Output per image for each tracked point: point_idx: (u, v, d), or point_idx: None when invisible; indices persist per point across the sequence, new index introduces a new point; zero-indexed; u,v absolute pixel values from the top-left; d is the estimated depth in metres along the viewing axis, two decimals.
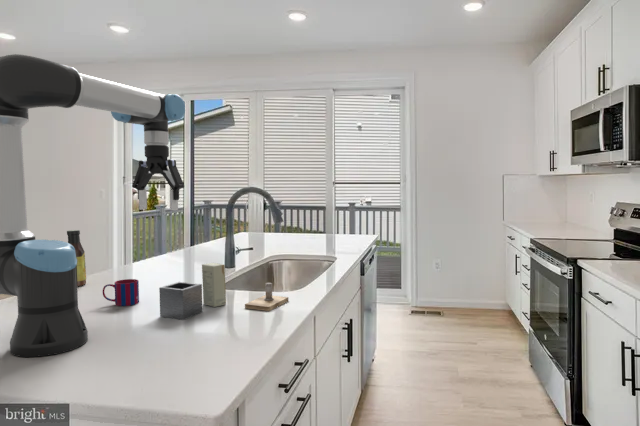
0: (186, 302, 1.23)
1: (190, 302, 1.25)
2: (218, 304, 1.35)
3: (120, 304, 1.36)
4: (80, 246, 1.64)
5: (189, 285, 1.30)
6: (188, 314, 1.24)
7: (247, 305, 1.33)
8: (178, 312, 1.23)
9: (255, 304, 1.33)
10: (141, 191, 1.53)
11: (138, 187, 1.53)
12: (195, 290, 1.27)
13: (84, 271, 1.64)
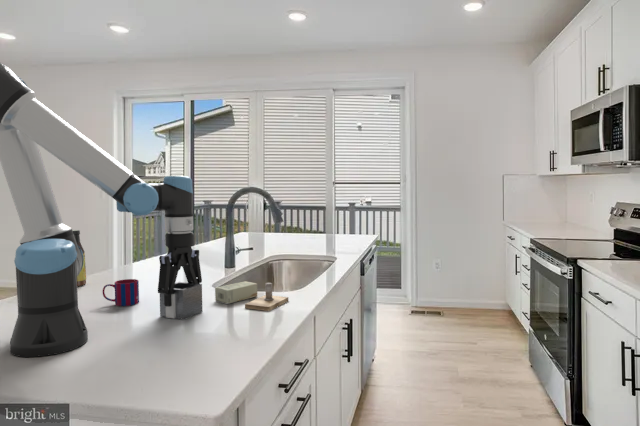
0: (186, 302, 1.23)
1: (190, 302, 1.25)
2: (228, 294, 1.38)
3: (120, 304, 1.36)
4: (80, 246, 1.64)
5: (189, 285, 1.30)
6: (188, 314, 1.24)
7: (247, 305, 1.33)
8: (178, 312, 1.23)
9: (255, 304, 1.33)
10: None
11: None
12: (195, 290, 1.27)
13: (84, 271, 1.64)
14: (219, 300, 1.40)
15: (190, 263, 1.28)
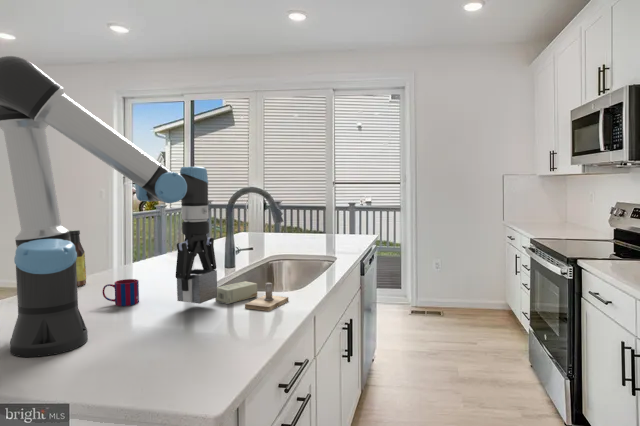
0: (202, 287, 1.29)
1: (206, 287, 1.31)
2: (228, 294, 1.38)
3: (120, 304, 1.36)
4: (80, 246, 1.64)
5: (204, 271, 1.36)
6: (204, 298, 1.30)
7: (247, 305, 1.33)
8: (195, 296, 1.29)
9: (255, 304, 1.33)
10: None
11: None
12: (210, 276, 1.33)
13: (84, 271, 1.64)
14: (219, 300, 1.40)
15: (205, 250, 1.34)
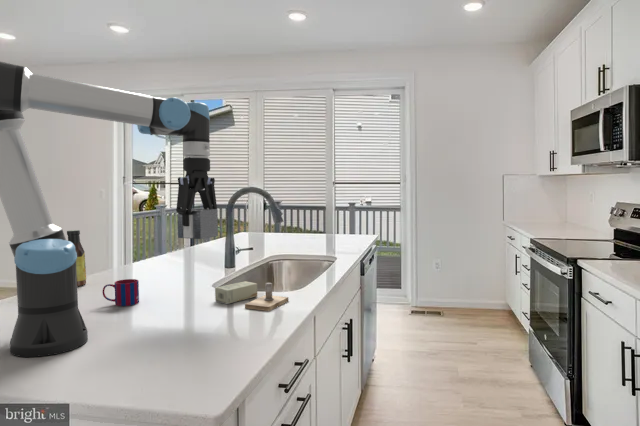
0: (203, 223, 1.29)
1: (207, 224, 1.31)
2: (228, 294, 1.38)
3: (120, 304, 1.36)
4: (80, 246, 1.64)
5: None
6: (205, 235, 1.30)
7: (247, 305, 1.33)
8: (195, 232, 1.29)
9: (255, 304, 1.33)
10: None
11: None
12: (211, 213, 1.33)
13: (84, 271, 1.64)
14: (219, 300, 1.40)
15: (206, 188, 1.34)
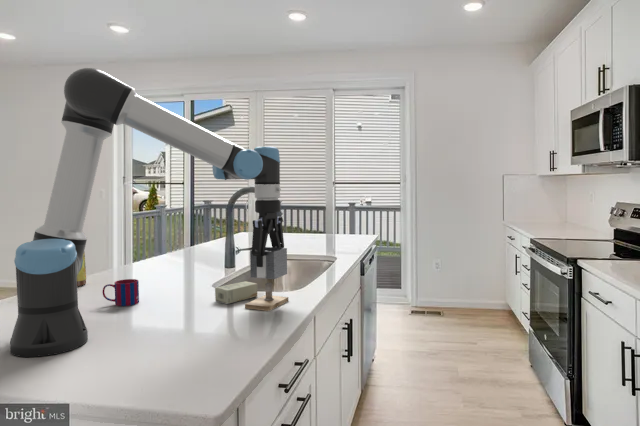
0: (276, 263, 1.33)
1: (279, 263, 1.35)
2: (228, 294, 1.38)
3: (120, 304, 1.36)
4: None
5: (275, 249, 1.40)
6: (277, 274, 1.34)
7: (247, 305, 1.33)
8: (269, 272, 1.33)
9: (255, 304, 1.33)
10: None
11: None
12: (282, 253, 1.37)
13: (84, 271, 1.64)
14: (219, 300, 1.40)
15: (276, 228, 1.38)
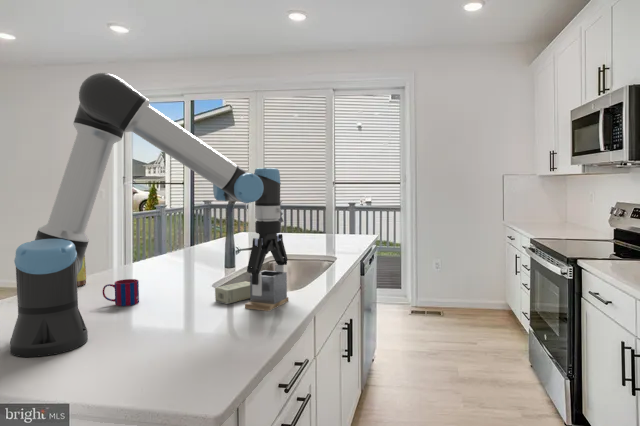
0: (276, 288, 1.34)
1: (278, 288, 1.35)
2: (228, 294, 1.38)
3: (120, 304, 1.36)
4: None
5: (274, 273, 1.40)
6: (277, 299, 1.35)
7: (247, 305, 1.33)
8: (269, 297, 1.33)
9: (255, 304, 1.33)
10: (276, 266, 1.44)
11: None
12: (282, 277, 1.37)
13: (84, 271, 1.64)
14: (219, 300, 1.40)
15: (277, 247, 1.39)
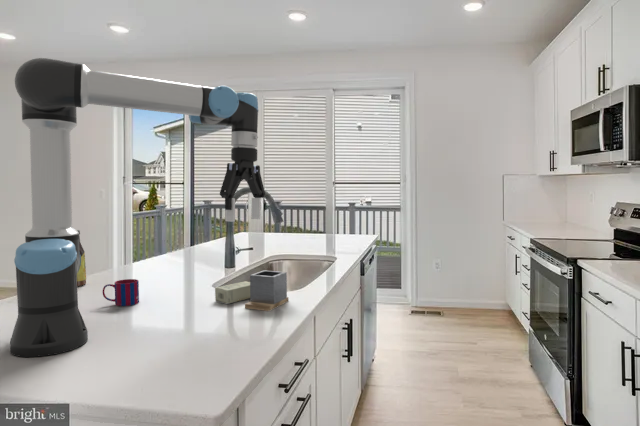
0: (276, 288, 1.34)
1: (278, 288, 1.35)
2: (228, 294, 1.38)
3: (120, 304, 1.36)
4: (80, 246, 1.64)
5: (274, 273, 1.40)
6: (277, 299, 1.35)
7: (247, 305, 1.33)
8: (269, 297, 1.33)
9: (255, 304, 1.33)
10: (253, 199, 1.41)
11: None
12: (282, 277, 1.37)
13: (84, 271, 1.64)
14: (219, 300, 1.40)
15: (254, 177, 1.36)
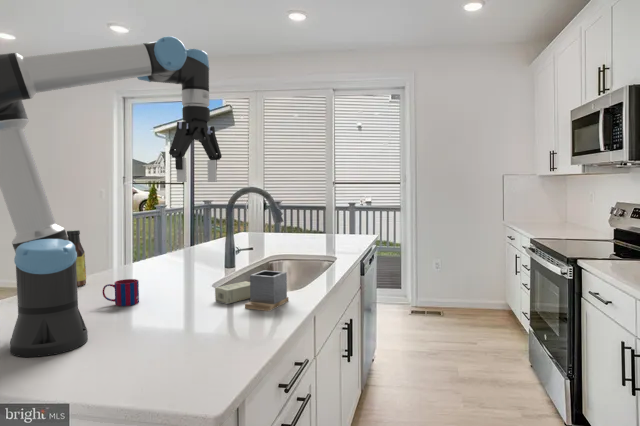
0: (276, 288, 1.34)
1: (278, 288, 1.35)
2: (228, 294, 1.38)
3: (120, 304, 1.36)
4: (80, 246, 1.64)
5: (274, 273, 1.40)
6: (277, 299, 1.35)
7: (247, 305, 1.33)
8: (269, 297, 1.33)
9: (255, 304, 1.33)
10: (208, 161, 1.37)
11: None
12: (282, 277, 1.37)
13: (84, 271, 1.64)
14: (219, 300, 1.40)
15: (207, 138, 1.32)
